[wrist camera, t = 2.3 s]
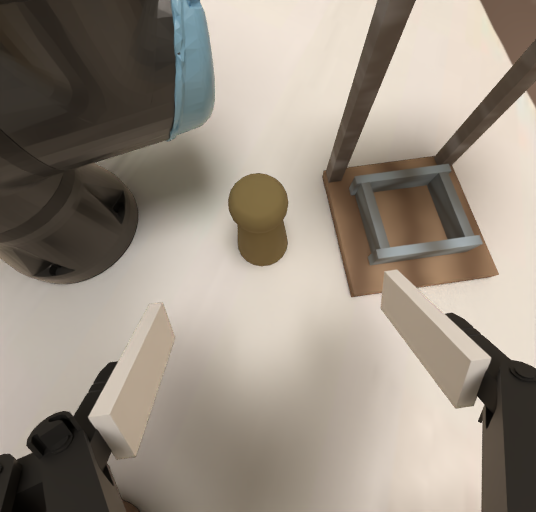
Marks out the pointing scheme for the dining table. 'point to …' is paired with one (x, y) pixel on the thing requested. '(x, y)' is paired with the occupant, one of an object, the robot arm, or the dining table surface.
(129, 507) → the plant pot
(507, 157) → the dining table surface
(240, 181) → the cork
